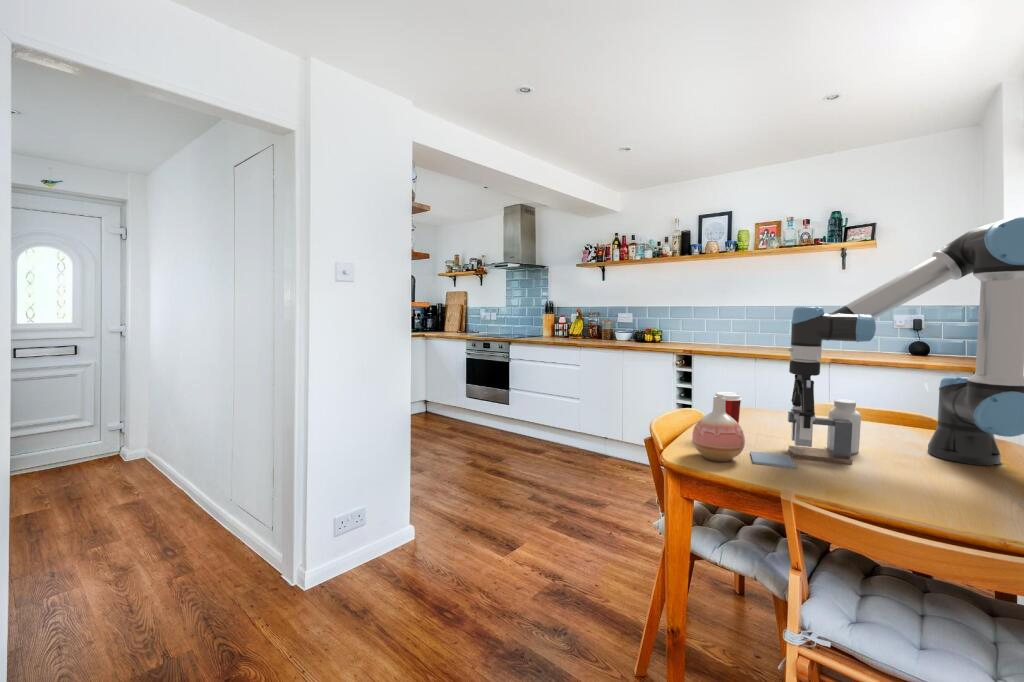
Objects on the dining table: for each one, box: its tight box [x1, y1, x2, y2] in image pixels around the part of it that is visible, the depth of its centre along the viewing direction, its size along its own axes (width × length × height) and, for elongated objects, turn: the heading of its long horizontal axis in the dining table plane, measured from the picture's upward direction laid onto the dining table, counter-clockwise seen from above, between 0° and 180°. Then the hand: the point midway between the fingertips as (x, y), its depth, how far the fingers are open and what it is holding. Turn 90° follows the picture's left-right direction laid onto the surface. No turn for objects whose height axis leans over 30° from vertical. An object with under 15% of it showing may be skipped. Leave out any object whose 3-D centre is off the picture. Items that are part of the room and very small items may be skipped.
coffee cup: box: [713, 391, 743, 425], centre depth 153 cm, size 8×8×15 cm
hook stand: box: [787, 411, 853, 465], centre depth 136 cm, size 15×9×12 cm, turn 68°
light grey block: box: [790, 408, 816, 448], centre depth 138 cm, size 5×7×9 cm
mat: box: [749, 450, 796, 469], centre depth 133 cm, size 10×10×1 cm
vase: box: [691, 395, 746, 463], centre depth 134 cm, size 14×14×18 cm
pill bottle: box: [826, 398, 862, 455], centre depth 142 cm, size 8×8×15 cm
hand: (800, 433), depth 138 cm, fingers open, 13 cm apart
